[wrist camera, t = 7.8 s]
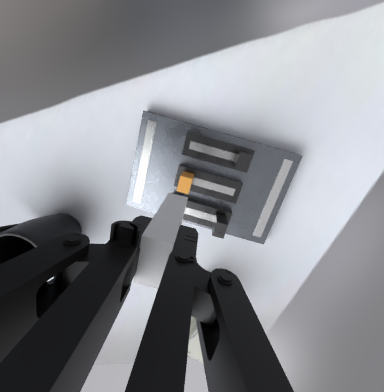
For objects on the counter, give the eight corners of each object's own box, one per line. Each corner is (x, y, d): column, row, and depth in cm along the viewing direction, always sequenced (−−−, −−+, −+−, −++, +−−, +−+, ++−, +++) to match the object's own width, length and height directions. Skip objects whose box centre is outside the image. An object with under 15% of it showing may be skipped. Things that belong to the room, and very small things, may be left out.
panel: (146, 111, 29) (129, 106, 23) (297, 154, 29) (320, 160, 23) (129, 202, 33) (112, 217, 27) (261, 239, 33) (272, 263, 27)
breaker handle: (183, 171, 28) (180, 175, 25) (194, 174, 28) (192, 179, 25) (179, 184, 28) (176, 191, 25) (190, 187, 28) (188, 194, 25)
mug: (23, 192, 34) (-44, 214, 25) (92, 214, 35) (50, 244, 25) (21, 234, 37) (-41, 267, 28) (85, 254, 37) (45, 294, 28)
